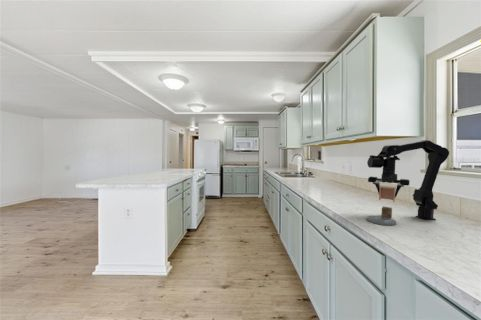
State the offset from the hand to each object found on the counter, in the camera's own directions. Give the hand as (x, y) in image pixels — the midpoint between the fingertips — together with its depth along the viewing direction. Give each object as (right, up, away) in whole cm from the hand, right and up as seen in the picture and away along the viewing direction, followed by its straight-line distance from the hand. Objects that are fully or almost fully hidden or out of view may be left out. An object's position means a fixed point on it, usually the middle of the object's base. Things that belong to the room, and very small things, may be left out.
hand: (387, 196), depth 125 cm
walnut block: (0, -11, 0) cm, 11 cm away
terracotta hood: (0, -2, 0) cm, 2 cm away
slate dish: (-9, -11, -9) cm, 17 cm away
